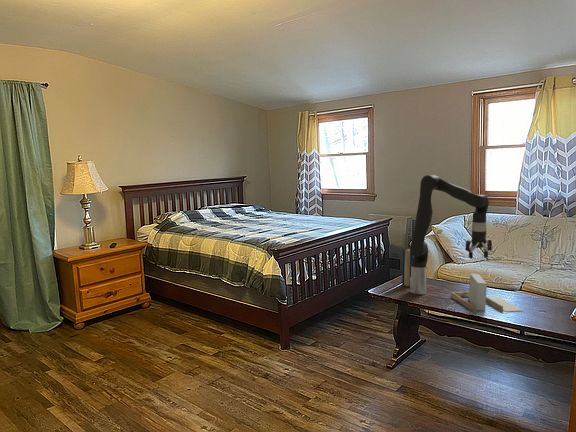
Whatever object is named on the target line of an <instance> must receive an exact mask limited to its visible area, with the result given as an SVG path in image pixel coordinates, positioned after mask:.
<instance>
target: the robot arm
mask: <svg viewBox="0 0 576 432" xmlns="http://www.w3.org/2000/svg"><path fill="white" fill-rule="evenodd" d="M434 190H435V191H441V192H442V193H446V194H448V195H449V196H451V197H452V198H454V199H456V200H458V201H461V202H464V203H466V204H468V205H469V206H472V207H473V208H475V211H473V213H472V221H471V222H472V224H471V240H466V241H465V251H466V252H468V258H469V259H471V260H472V259H473V257H474V251H475V250H476V249H479V248H481V249H483V250H484V251H483V258H485V259H487V258H488V257H489V251H492V250H493V249H492V247H493V246H492V245H493V244H492V240H491V239H489V238H488V239H487V212H488V209H489V203H490V201H489V198H488V196H487V195H485V194H476V193H473V192H472V191H471V190H469V189H466V188H464V187H461V186H458V185H455V184H453V183H450V182H448V181H446V180H444V179H442V178H441V177H439V176H437V175H436V174H426V175H423V177H422V178H421V180H420V189H419V199H418V205H417V209H416V215H415V222H414V228H413V234H412V239H411V241H410V244H409V245H410V246H409V248H410V252H411V254H412V255H413V260H412V262H411V277H410V286H409V292H410V293H411V294H412V295H425V294H426V293H427V263H428V258H429V257H428V256H429V247H428V243H426V241H425V238H426V234H427V232H428V230H429V228H430V227H431V223H432V220H433V219H432V217H433V206H432V193H433V191H434ZM486 244H487V245H486Z"/></svg>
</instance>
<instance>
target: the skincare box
mask: <svg viewBox="0 0 576 432" xmlns="http://www.w3.org/2000/svg"><path fill="white" fill-rule="evenodd" d="M487 287H488V283H487V281H485V280H484V278H482V276H481V275H480V274H478V273H469V289H468V291H469V297H468V300H469V301H468V302H469V303H470V304H472V305H474V306H475V307H477V311H480V312H481V311H482V312H484V311H486V305H487V303H486V297H487Z"/></svg>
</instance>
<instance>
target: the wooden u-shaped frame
mask: <svg viewBox="0 0 576 432" xmlns="http://www.w3.org/2000/svg"><path fill="white" fill-rule="evenodd" d="M450 297H451V298H452V299H454V300H455V301H456V302H458V303H459V304H461V305H462V306H464V307H465V308H467V309H468V310H470V311H471V312H473V313H474V314H477V313H478V310H477V307H475V306H474V305H472V304H471V302H470V301H468V300H466V299H465V298H467V297H468V298H469V290H468V291H451V293H450ZM486 304H488V305H490V306H491V307H493V308H495V309H496V310H498V311H500V312H501V313H502V312H504V311H503V306H502V305H500V304H498V303H497V302H495V301H493V300H491V299H490V297H488V296H486Z"/></svg>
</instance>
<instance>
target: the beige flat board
mask: <svg viewBox="0 0 576 432" xmlns="http://www.w3.org/2000/svg"><path fill="white" fill-rule="evenodd" d="M489 298H490V299H491V300H493V301H495V302H497V303H498V304H500V305H502V306H503V312H505V313H511V312H515V313H517V312H523V311H524V310H523V308H520V307H518V306H516V305H514V304H513V303H510V301H508V300H505V299H504V298H502V297H501V296H496V297H495V296H494V297H490V296H489Z"/></svg>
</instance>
